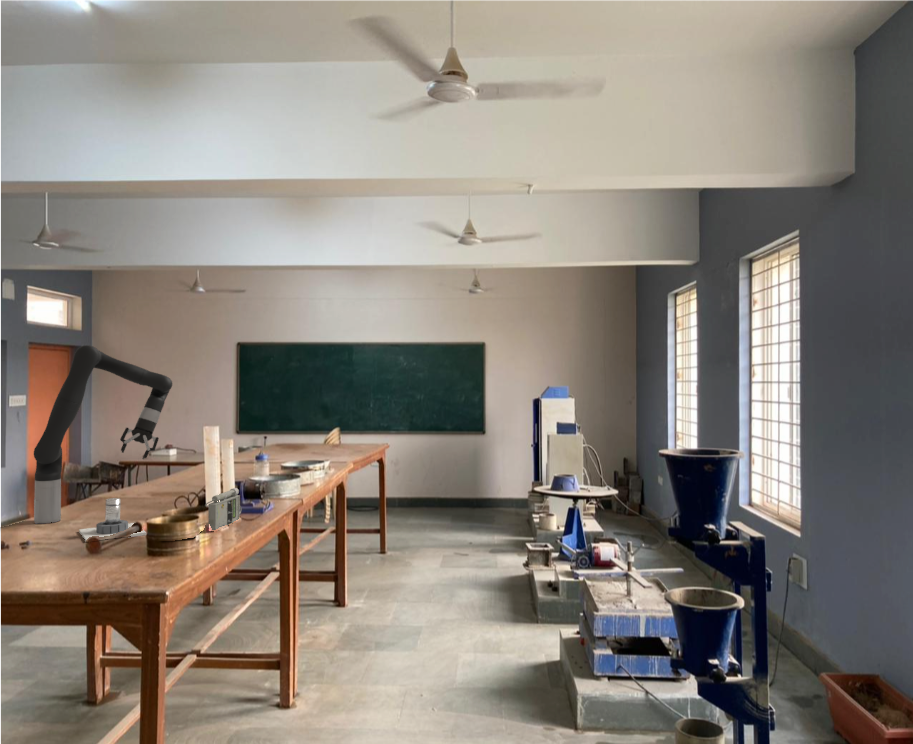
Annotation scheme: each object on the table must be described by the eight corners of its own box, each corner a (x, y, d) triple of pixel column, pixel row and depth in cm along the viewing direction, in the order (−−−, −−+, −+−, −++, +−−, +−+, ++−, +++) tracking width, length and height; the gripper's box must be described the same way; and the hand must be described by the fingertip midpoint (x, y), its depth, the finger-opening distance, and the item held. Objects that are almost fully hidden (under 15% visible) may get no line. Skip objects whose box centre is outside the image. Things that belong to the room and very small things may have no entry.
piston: (106, 532, 251) (107, 501, 251) (103, 530, 255) (104, 498, 255) (121, 531, 255) (122, 499, 255) (118, 528, 259) (118, 497, 258)
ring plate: (86, 542, 241) (86, 531, 241) (78, 531, 257) (79, 521, 257) (146, 535, 253) (146, 524, 253) (135, 525, 269) (135, 515, 269)
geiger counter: (218, 496, 258) (248, 485, 282) (202, 495, 259) (234, 485, 283) (217, 532, 258) (247, 518, 282) (202, 531, 259) (233, 517, 283)
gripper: (130, 413, 282) (115, 450, 277) (165, 424, 287) (150, 460, 282) (131, 415, 288) (115, 451, 284) (164, 426, 293) (150, 461, 288)
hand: (132, 455), depth 283 cm, fingers open, 8 cm apart
